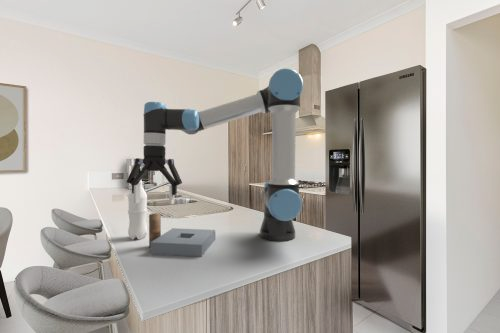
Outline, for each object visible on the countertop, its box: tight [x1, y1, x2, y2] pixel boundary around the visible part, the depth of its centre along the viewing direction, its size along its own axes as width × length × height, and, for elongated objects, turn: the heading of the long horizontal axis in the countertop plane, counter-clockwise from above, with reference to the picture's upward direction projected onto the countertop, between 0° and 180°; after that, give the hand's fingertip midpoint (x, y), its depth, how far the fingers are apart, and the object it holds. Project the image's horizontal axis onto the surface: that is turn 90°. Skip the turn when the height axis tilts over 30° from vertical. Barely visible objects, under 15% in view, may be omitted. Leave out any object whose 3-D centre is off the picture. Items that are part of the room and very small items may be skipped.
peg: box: [148, 212, 162, 249], centre depth 93 cm, size 4×4×12 cm
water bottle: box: [127, 177, 148, 241], centre depth 103 cm, size 7×7×25 cm
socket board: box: [150, 227, 216, 258], centre depth 94 cm, size 18×18×4 cm
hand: (154, 203), depth 93 cm, fingers open, 13 cm apart
